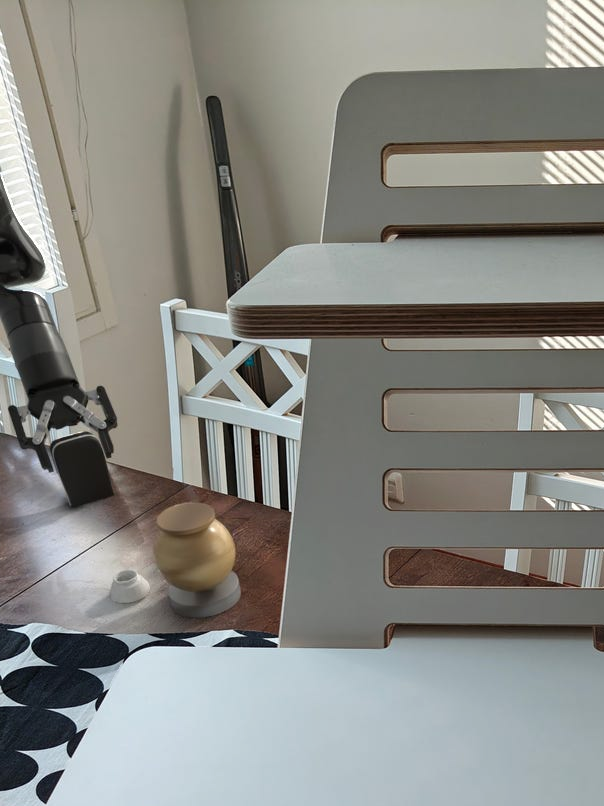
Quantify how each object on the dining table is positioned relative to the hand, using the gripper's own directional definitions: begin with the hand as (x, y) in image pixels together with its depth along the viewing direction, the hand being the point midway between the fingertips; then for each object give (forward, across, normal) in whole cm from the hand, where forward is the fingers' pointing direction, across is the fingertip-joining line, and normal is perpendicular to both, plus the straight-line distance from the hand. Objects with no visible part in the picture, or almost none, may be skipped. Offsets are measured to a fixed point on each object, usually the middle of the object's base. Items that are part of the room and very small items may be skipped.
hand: (80, 463), depth 143 cm
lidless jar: (+24, 0, -13) cm, 27 cm away
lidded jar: (+28, +8, -18) cm, 34 cm away
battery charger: (+5, 0, +6) cm, 8 cm away
